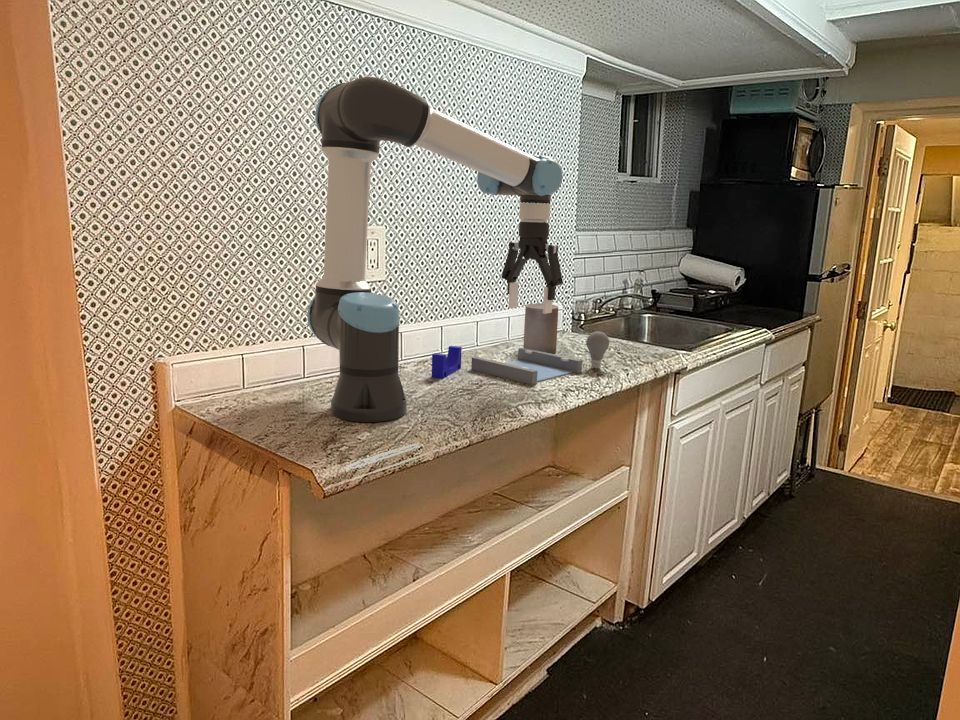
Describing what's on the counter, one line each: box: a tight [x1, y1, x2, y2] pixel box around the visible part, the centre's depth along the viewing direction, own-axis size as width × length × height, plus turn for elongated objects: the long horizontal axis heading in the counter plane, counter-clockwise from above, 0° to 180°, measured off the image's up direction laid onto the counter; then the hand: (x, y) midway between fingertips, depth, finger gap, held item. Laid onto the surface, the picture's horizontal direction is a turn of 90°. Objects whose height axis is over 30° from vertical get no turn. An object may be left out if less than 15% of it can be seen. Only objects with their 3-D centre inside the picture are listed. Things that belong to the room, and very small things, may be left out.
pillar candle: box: [522, 301, 559, 354], centre depth 199 cm, size 10×10×15 cm
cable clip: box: [431, 345, 463, 380], centre depth 171 cm, size 12×4×6 cm, turn 160°
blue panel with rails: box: [470, 347, 583, 386], centre depth 176 cm, size 21×20×3 cm
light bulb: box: [585, 330, 610, 370], centre depth 181 cm, size 6×6×10 cm
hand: (529, 310), depth 173 cm, fingers open, 10 cm apart
